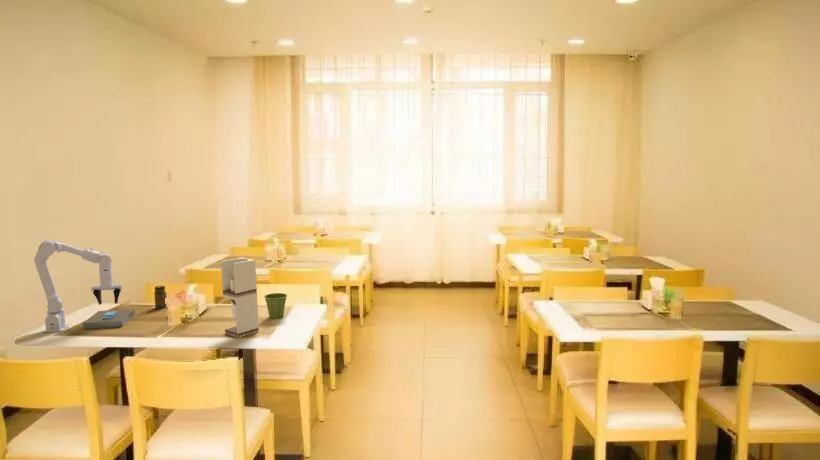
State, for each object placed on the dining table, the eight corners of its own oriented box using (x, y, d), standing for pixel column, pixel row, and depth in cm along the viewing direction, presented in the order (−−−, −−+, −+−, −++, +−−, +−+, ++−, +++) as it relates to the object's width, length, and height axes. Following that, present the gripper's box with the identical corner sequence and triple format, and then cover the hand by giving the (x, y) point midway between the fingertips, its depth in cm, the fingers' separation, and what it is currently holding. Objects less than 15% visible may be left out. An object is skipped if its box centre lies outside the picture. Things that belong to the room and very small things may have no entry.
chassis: (122, 326, 298) (122, 320, 298) (83, 329, 295) (83, 323, 295) (134, 314, 319) (134, 309, 319) (98, 316, 316) (98, 311, 316)
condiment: (165, 305, 338) (164, 284, 336) (170, 308, 331) (169, 287, 329) (152, 307, 333) (150, 286, 331) (157, 310, 326) (155, 289, 325)
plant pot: (275, 321, 303) (274, 299, 301) (260, 317, 310) (259, 296, 309) (293, 315, 312) (292, 294, 311) (278, 312, 320) (277, 291, 318)
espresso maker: (245, 327, 293) (241, 257, 288) (258, 331, 286) (255, 259, 281) (225, 333, 284) (220, 261, 279) (238, 337, 278) (234, 263, 273)
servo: (110, 324, 302) (110, 316, 302) (102, 324, 302) (101, 316, 301) (117, 318, 313) (117, 310, 312) (109, 318, 312) (109, 310, 312)
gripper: (123, 275, 309) (125, 300, 311) (93, 276, 307) (95, 302, 309) (119, 278, 302) (121, 304, 304) (88, 279, 300) (91, 306, 302)
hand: (108, 303), depth 306 cm, fingers open, 7 cm apart
